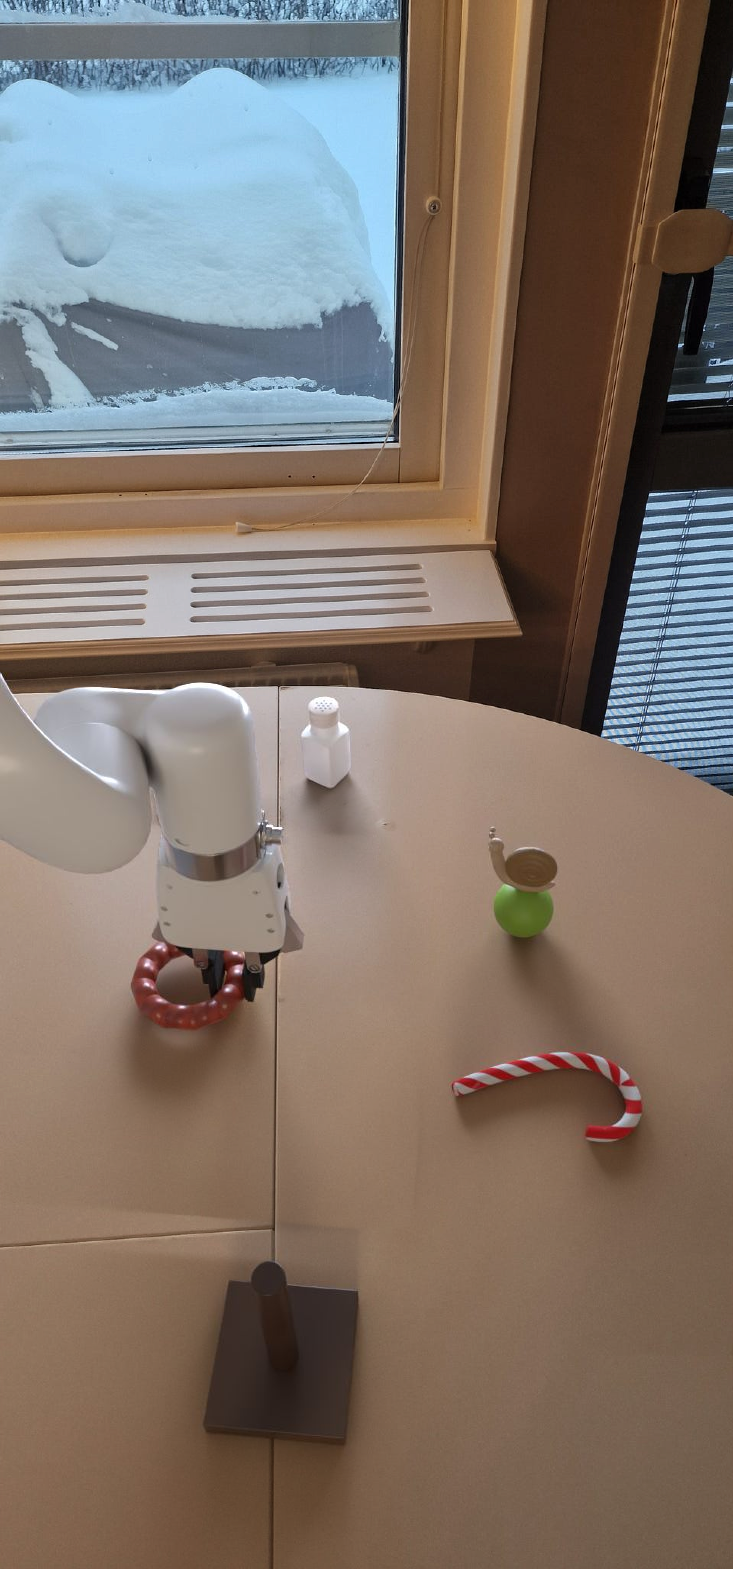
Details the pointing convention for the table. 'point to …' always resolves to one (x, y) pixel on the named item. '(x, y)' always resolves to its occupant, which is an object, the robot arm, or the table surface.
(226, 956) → the ring
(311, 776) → the pepper shaker
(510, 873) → the snail figurine
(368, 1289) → the table surface
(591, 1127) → the candy cane
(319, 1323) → the post
